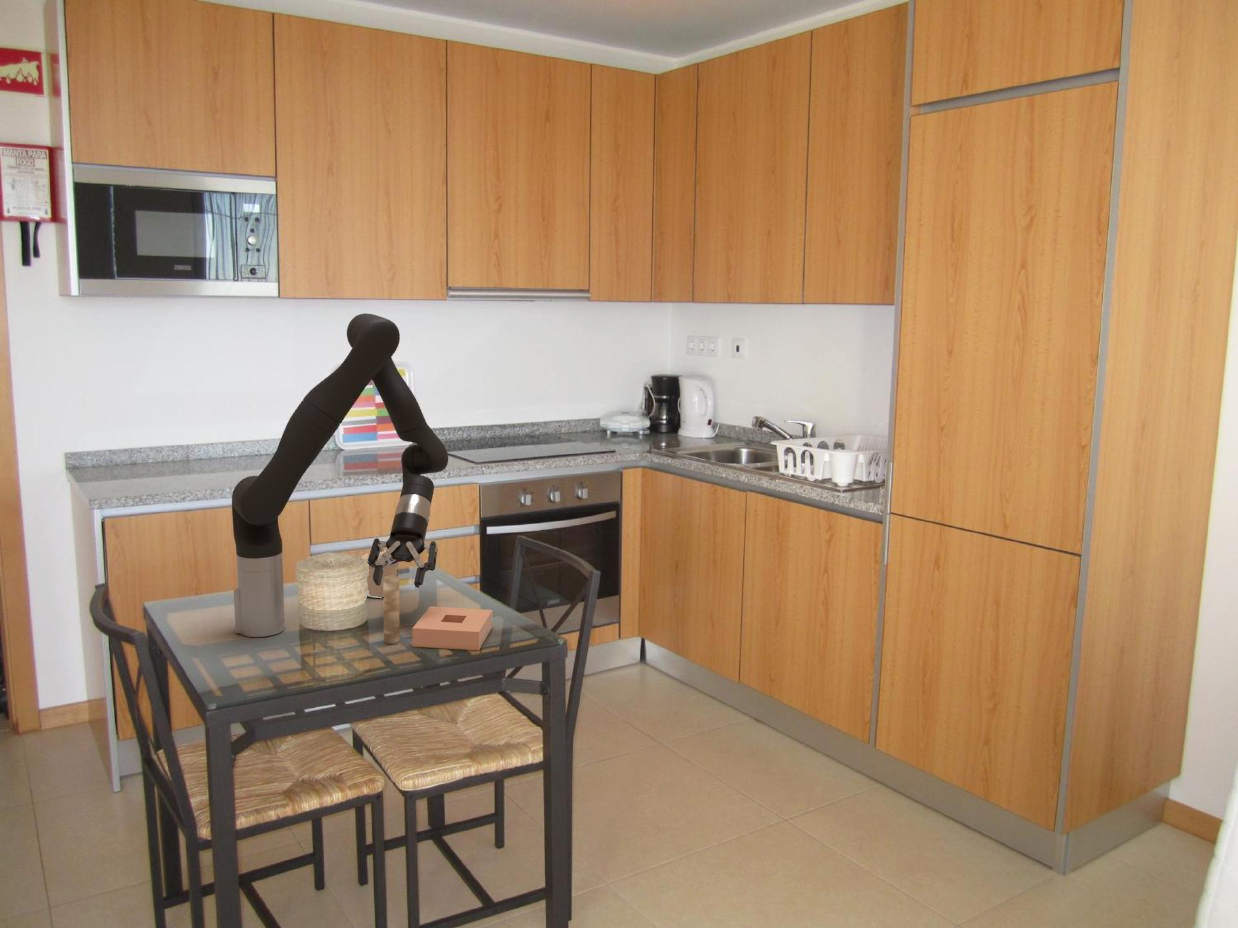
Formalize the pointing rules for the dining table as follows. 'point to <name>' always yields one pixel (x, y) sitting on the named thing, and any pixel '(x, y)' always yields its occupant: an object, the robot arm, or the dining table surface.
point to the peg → (391, 609)
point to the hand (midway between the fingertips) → (396, 584)
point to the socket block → (452, 628)
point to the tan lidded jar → (387, 571)
